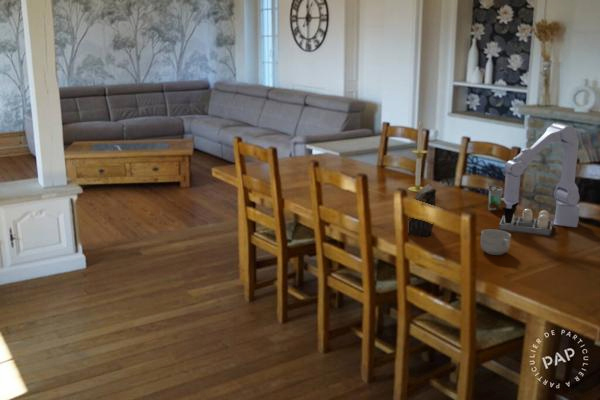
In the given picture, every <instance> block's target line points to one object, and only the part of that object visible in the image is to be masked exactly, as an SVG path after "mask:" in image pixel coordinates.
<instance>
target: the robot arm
mask: <svg viewBox="0 0 600 400" xmlns="http://www.w3.org/2000/svg"><path fill="white" fill-rule="evenodd" d="M577 133H578V130H577V129H576V128H575V127H574V126H572V125H567V124H563V123H560V122H553V123H552V124H550V126H548V127H547V129H546V130H545V132H544V133H543V134H542V135H541V136H540V137H539V138H538V139H537V140H536V141H535V142H534V143H533V145H531V146H530V147H525V148H523V149H521V152H520V153H518V154H517V155H516V156H514V157H513V158H512V159H511V160H508V161H506V162H505V164H504V166H503V167H502V168H503V171H504V173H505V181H504V182H505V183H504V191H503V192H504V194H503V197H502V198H501V202H504V204H505V205H502V206H501V208H502V209H501V210H502V211H503V215H505V222H506V223H511V221H512V218H513V214H514V215H515V213H516V210H517V206H518V205H519V203H520V201H519V198H520V197H519V196H520V195H519V194H520V183H521V175H523V174H524V172H525V169H526V167H527V166H528V165H529V164H530V163H532V162H533V161H534V160H535V159H536V157H537V154H538V153H539V152H540V151H542V150H543V149H545V147H547V146H548V145H549V144H551V143H555V142H556V143H557V142H560V143H561V144H562V145H563V155H562V165H561V175H560V181H559V182H558V183H557V184H556V188H555V190H554V192H553V197H554V199H555V202H556V207H555V216H554V217H555V218H554V219H553V223H552V226H553V225H554V226H561V227H569V228H570V227H571V228H578V223H579V222H580V218H579V214H580V205H579V204H578V203H579V201H580V193H579V187H578V185H577V184H576V182H575V181H576V174H577V173H576V172H577V164H578V163H577V162H578V154H579V153H578V152H579V142H580V141H579V137H578V135H577Z"/></svg>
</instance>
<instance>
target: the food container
mask: <svg viewBox="0 0 600 400" xmlns="http://www.w3.org/2000/svg"><path fill="white" fill-rule="evenodd" d="M504 192H505V191H504V189H503V187H501V186H498V185H494V184H488V195H487V196H488V198H487V208H488V211H489V212H499V211H500V209H501V203H502V201H501V198H503V197H502V196H503V195H504Z"/></svg>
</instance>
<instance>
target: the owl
mask: <svg viewBox="0 0 600 400" xmlns="http://www.w3.org/2000/svg"><path fill="white" fill-rule="evenodd" d="M422 187H423V186H422ZM436 193H437V189H436V188H435V187H433V186H432V184H431V183H428V184H426V185H425V186H424V187H423V188H422V189H421V190H420V191H419V192H416V195H415V196H414V199H416V200H419V201H422V202H425V203H428V204H431V205H434V206H435V207H436V201H435V200H436ZM414 199H413V200H414ZM408 221H409V235H411V236H415V237H419V238H421V239H422V238H423V239H428V238H430V237H432V236H433V235H432V234H433V233H432V232H433V227H434V223H433V224H430V223H428V222H425V221H422V220H418V219H414V218H411V217H409V219H408Z"/></svg>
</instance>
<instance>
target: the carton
mask: <svg viewBox="0 0 600 400" xmlns="http://www.w3.org/2000/svg"><path fill="white" fill-rule="evenodd" d="M504 216H505V215H504V214H503V215H502V217H501V219H500V221H499V225H498V230H501V231H505V232H514V233H523V234H530V235H539V236H548V237H551V234H552V229H553V223H554V220H550V219H549V221H548V226H547V229H540V228H537V222H538V218H533V217H532V223H528V222H522V216H514V226H513V225H505V224H504Z"/></svg>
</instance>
